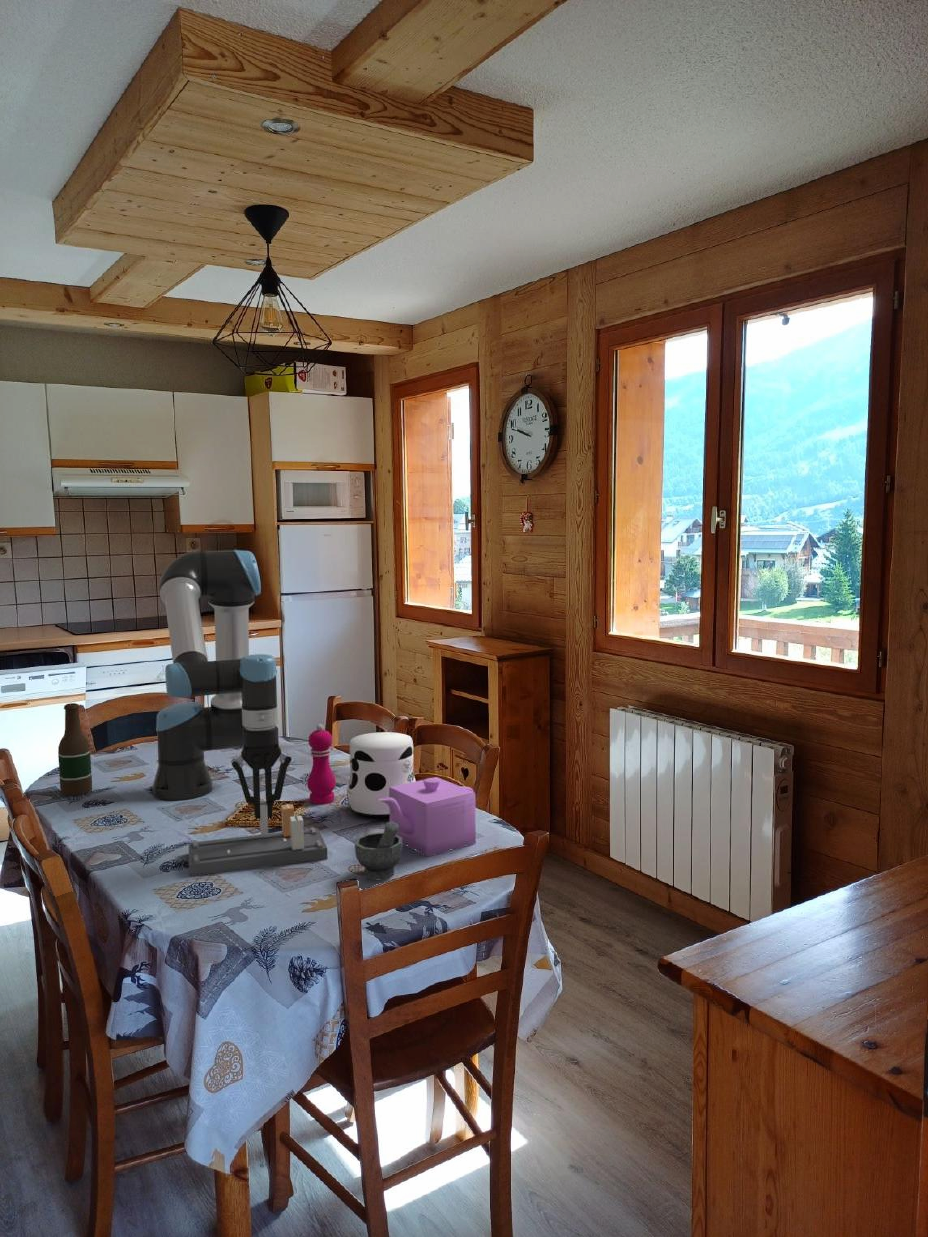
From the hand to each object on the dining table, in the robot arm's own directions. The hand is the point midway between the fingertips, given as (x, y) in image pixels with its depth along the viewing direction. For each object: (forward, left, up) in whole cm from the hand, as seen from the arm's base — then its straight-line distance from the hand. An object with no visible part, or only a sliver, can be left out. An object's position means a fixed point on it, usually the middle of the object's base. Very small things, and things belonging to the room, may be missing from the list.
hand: (264, 832), depth 194 cm
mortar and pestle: (+23, +21, -4) cm, 31 cm away
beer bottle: (-58, -44, -4) cm, 73 cm away
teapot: (+8, +35, -4) cm, 36 cm away
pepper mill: (-29, +17, -4) cm, 34 cm away
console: (+4, -2, -4) cm, 6 cm away
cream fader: (+9, +6, -1) cm, 11 cm away
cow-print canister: (-16, +30, -4) cm, 35 cm away
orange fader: (0, +5, -1) cm, 5 cm away
